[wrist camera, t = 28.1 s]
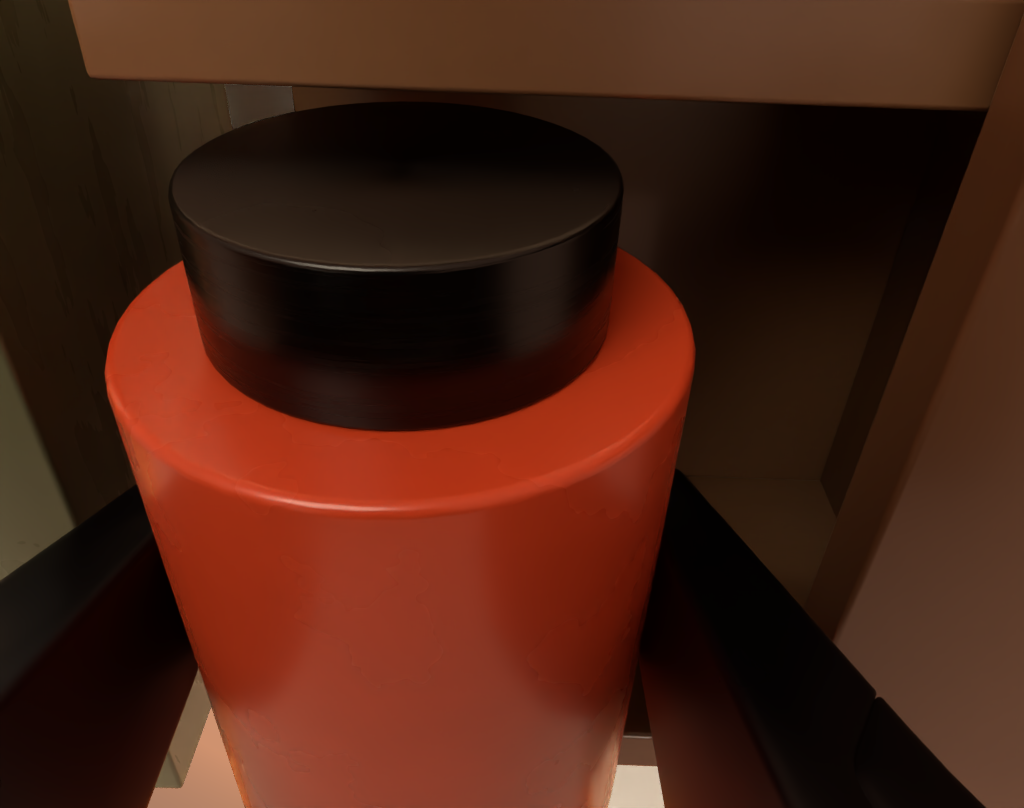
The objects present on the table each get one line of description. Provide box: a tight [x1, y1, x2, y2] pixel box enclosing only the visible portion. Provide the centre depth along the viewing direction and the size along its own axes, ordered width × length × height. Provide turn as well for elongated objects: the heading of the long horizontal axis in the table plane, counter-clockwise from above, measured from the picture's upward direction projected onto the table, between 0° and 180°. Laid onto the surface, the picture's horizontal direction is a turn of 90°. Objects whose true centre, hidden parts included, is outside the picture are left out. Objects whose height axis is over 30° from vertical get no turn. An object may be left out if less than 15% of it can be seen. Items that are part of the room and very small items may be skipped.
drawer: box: [0, 0, 1024, 788], centre depth 11 cm, size 17×11×7 cm, turn 88°
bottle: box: [104, 101, 696, 808], centre depth 8 cm, size 8×5×5 cm, turn 179°
